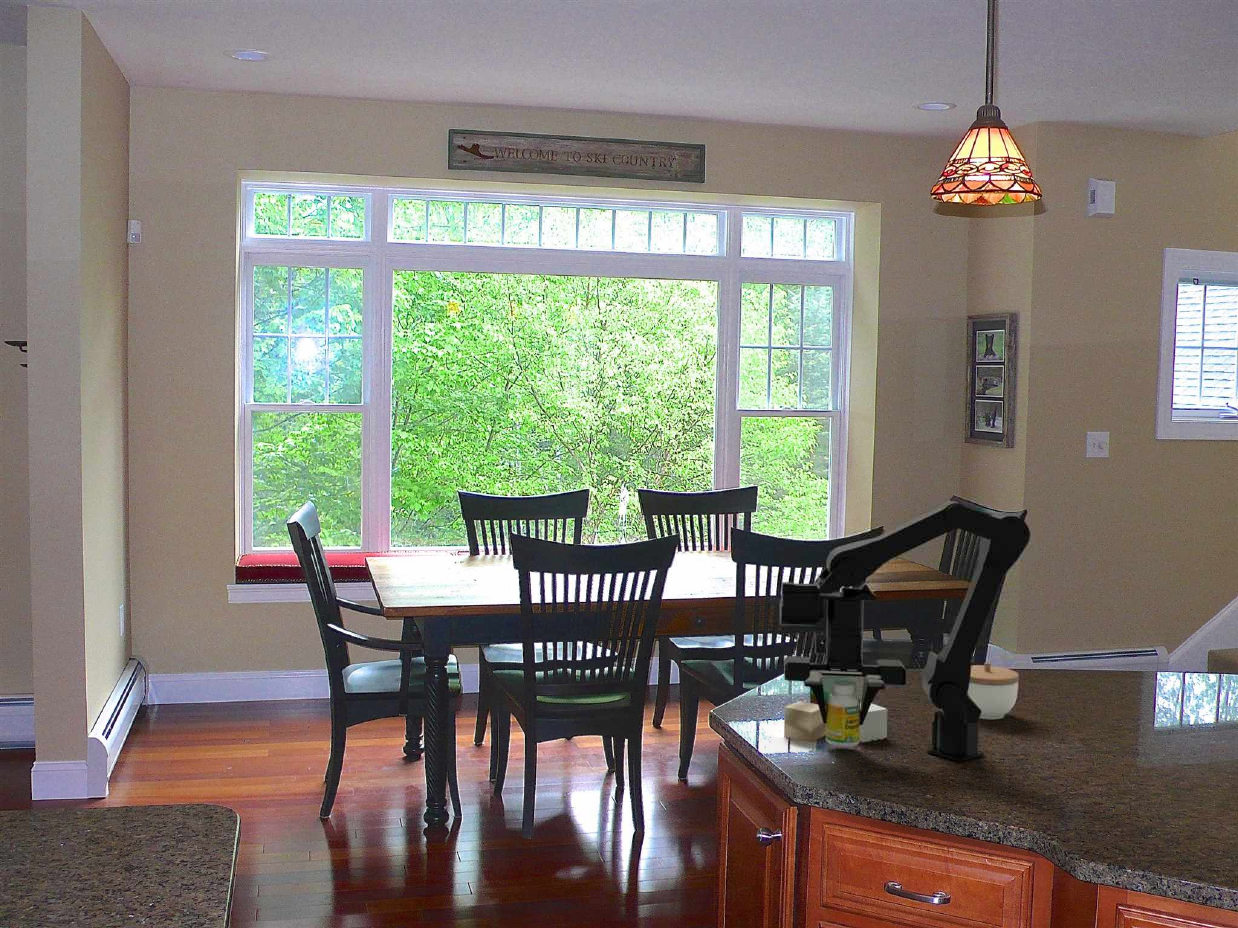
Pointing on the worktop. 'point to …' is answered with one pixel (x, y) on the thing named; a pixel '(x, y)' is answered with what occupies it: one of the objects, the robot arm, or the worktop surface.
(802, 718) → the maple block
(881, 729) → the white cube
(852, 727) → the supplement bottle
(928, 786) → the worktop surface
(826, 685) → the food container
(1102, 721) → the worktop surface
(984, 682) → the lidded jar
